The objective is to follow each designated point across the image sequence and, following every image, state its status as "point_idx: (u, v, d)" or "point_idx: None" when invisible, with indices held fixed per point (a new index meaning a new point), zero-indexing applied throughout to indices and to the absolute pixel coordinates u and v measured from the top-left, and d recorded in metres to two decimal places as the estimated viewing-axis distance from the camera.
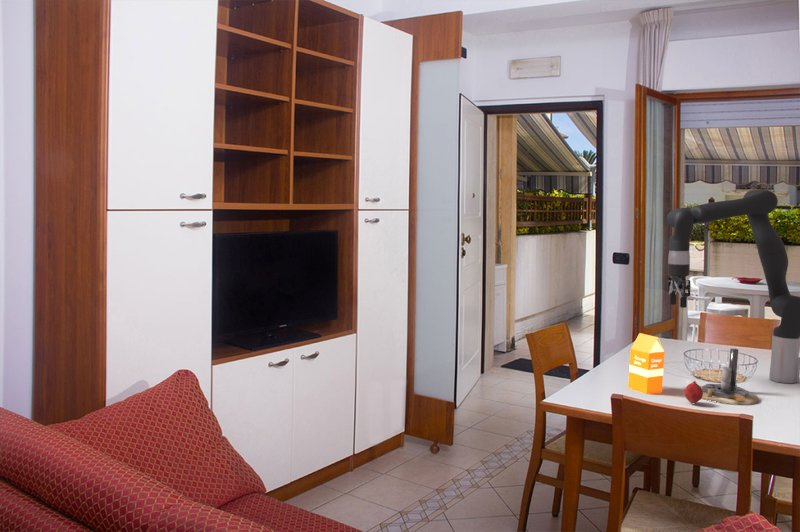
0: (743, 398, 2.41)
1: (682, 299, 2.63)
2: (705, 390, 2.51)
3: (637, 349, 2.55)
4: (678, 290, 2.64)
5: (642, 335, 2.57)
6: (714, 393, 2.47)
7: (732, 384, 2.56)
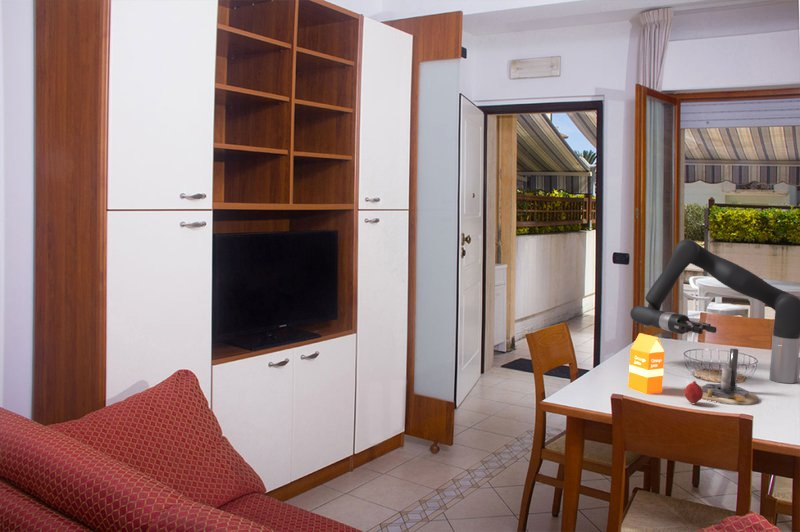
0: (743, 398, 2.41)
1: (693, 331, 2.67)
2: (705, 390, 2.51)
3: (637, 349, 2.55)
4: None
5: (642, 335, 2.57)
6: (714, 393, 2.47)
7: (732, 384, 2.56)
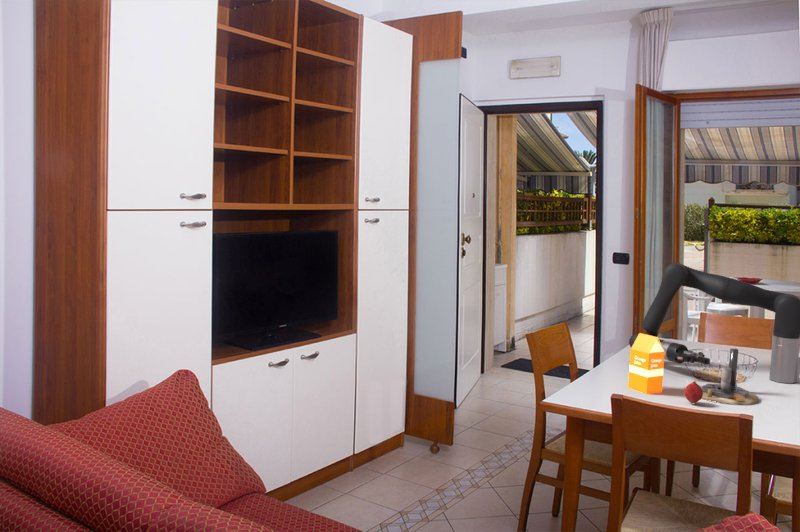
0: (743, 398, 2.41)
1: (699, 361, 2.69)
2: (705, 390, 2.51)
3: (637, 349, 2.55)
4: None
5: (642, 335, 2.57)
6: (714, 393, 2.47)
7: (732, 384, 2.56)
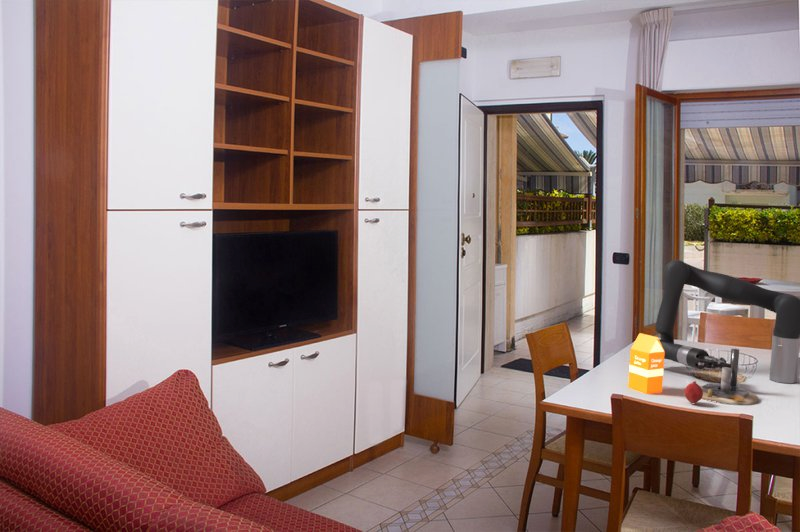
0: (742, 398, 2.41)
1: (721, 367, 2.60)
2: (705, 390, 2.51)
3: (637, 349, 2.55)
4: None
5: (642, 335, 2.57)
6: (713, 393, 2.47)
7: (733, 384, 2.56)
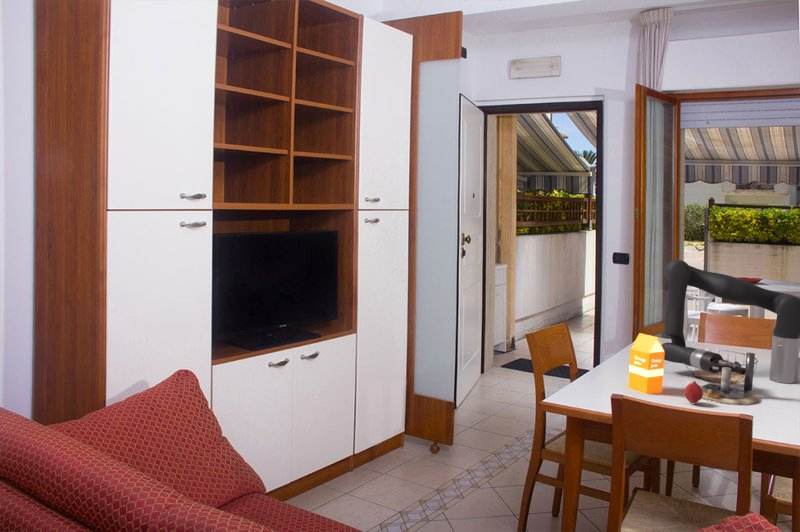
0: (716, 395, 2.44)
1: (736, 372, 2.54)
2: None
3: (637, 349, 2.55)
4: None
5: (642, 335, 2.57)
6: (703, 388, 2.53)
7: (745, 388, 2.51)
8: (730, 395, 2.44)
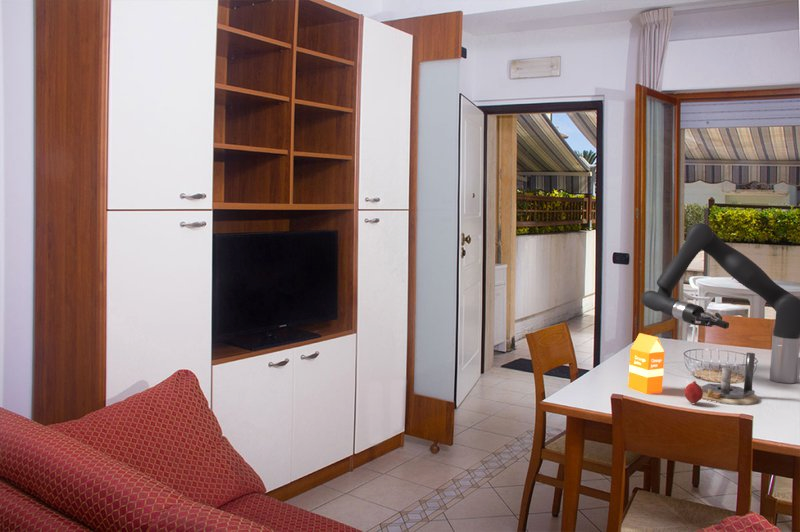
0: (716, 395, 2.44)
1: (718, 325, 2.63)
2: None
3: (637, 349, 2.55)
4: None
5: (642, 335, 2.57)
6: (703, 388, 2.53)
7: (745, 388, 2.51)
8: (730, 395, 2.44)
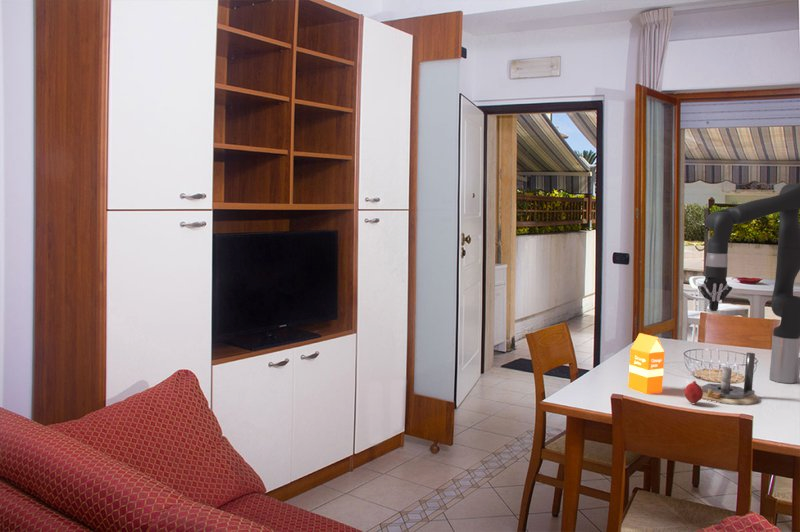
0: (716, 395, 2.44)
1: None
2: None
3: (637, 349, 2.55)
4: None
5: (642, 335, 2.57)
6: (703, 388, 2.53)
7: (745, 388, 2.51)
8: (730, 395, 2.44)
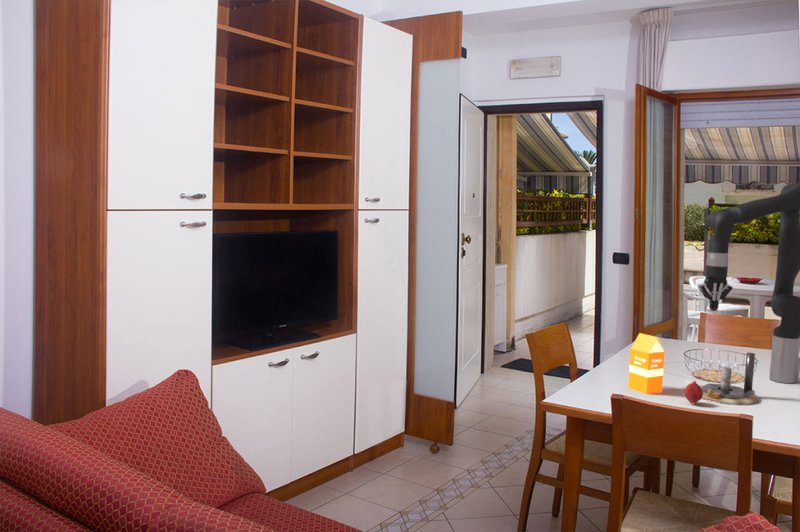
0: (716, 395, 2.44)
1: None
2: None
3: (637, 349, 2.55)
4: (709, 292, 2.71)
5: (642, 335, 2.57)
6: (703, 388, 2.53)
7: (745, 388, 2.51)
8: (730, 395, 2.44)
